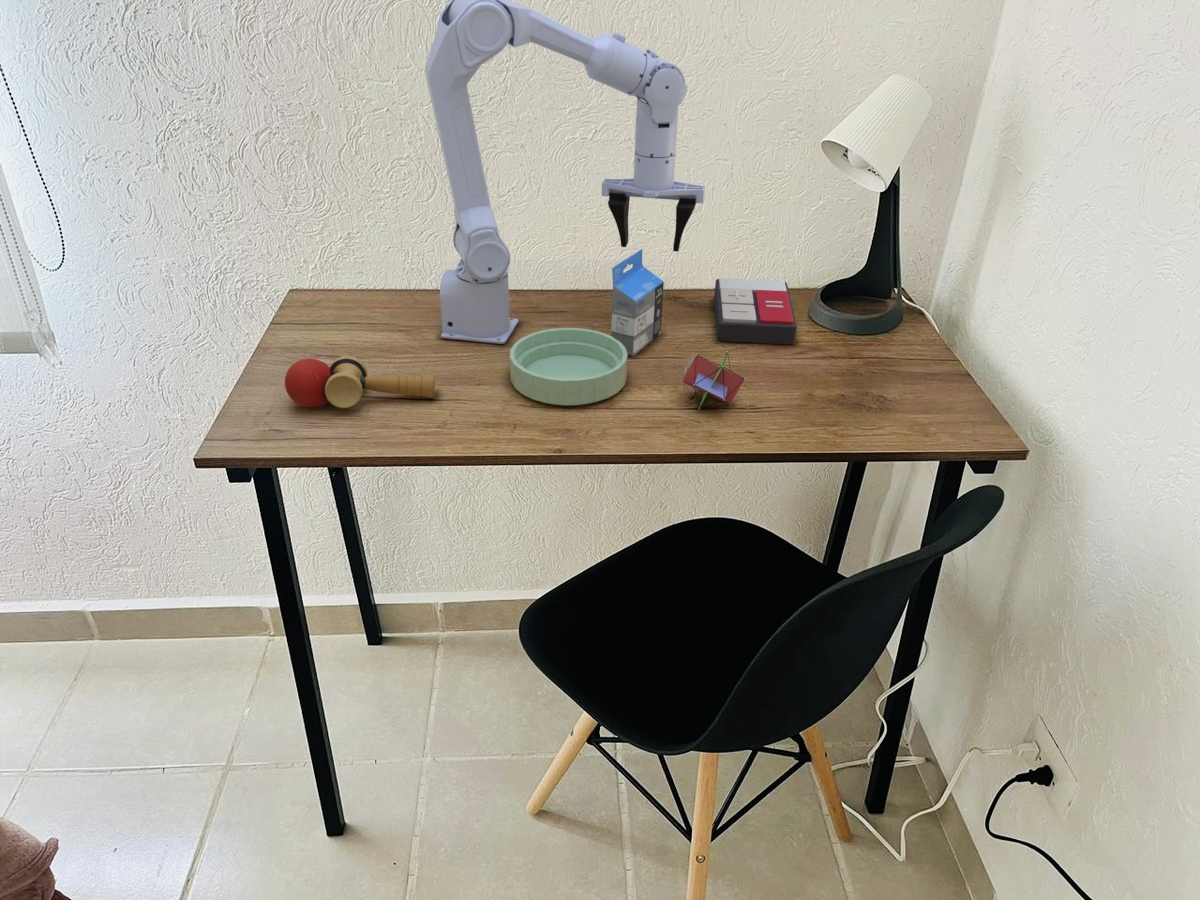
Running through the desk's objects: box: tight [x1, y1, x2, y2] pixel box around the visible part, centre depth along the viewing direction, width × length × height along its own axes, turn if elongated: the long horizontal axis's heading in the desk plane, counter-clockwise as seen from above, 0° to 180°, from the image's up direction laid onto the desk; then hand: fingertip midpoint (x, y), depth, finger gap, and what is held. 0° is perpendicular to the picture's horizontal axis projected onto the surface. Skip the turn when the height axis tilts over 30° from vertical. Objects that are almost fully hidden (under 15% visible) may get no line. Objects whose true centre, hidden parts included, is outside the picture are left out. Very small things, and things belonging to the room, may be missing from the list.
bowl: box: [509, 327, 629, 407], centre depth 120 cm, size 15×15×4 cm
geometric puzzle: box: [681, 350, 746, 410], centre depth 115 cm, size 7×7×8 cm
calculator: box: [713, 277, 798, 346], centre depth 136 cm, size 11×4×15 cm
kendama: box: [284, 355, 436, 409], centre depth 114 cm, size 8×6×18 cm
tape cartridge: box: [610, 248, 665, 357], centre depth 127 cm, size 9×4×12 cm, turn 151°
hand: (650, 247), depth 134 cm, fingers open, 7 cm apart
